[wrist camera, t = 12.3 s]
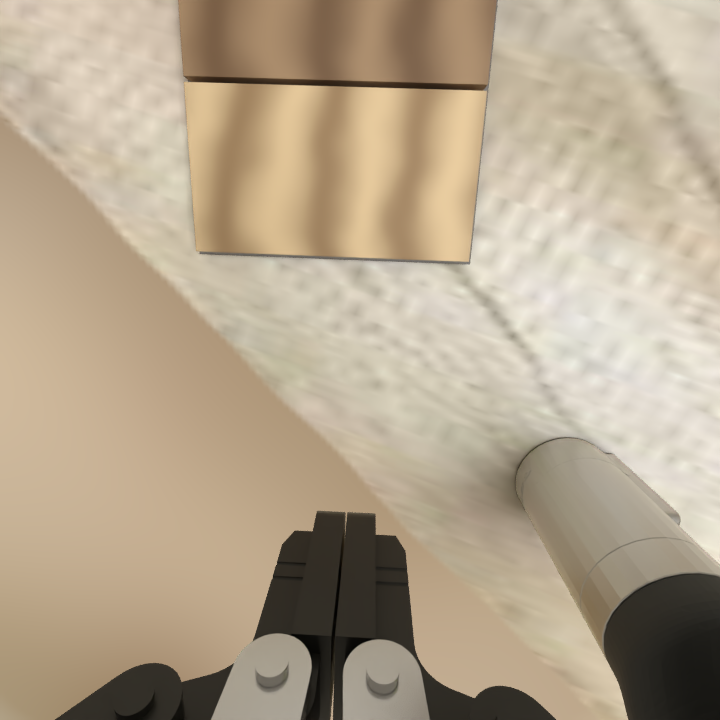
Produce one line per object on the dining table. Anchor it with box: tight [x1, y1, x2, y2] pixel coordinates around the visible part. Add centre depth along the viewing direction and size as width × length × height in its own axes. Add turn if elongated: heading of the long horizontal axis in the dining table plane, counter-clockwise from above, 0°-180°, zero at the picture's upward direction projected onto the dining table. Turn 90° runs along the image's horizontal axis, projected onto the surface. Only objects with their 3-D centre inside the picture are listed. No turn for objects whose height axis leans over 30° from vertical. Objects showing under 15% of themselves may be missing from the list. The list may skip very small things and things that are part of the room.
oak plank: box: [184, 82, 487, 262], centre depth 34 cm, size 22×12×2 cm, turn 88°
